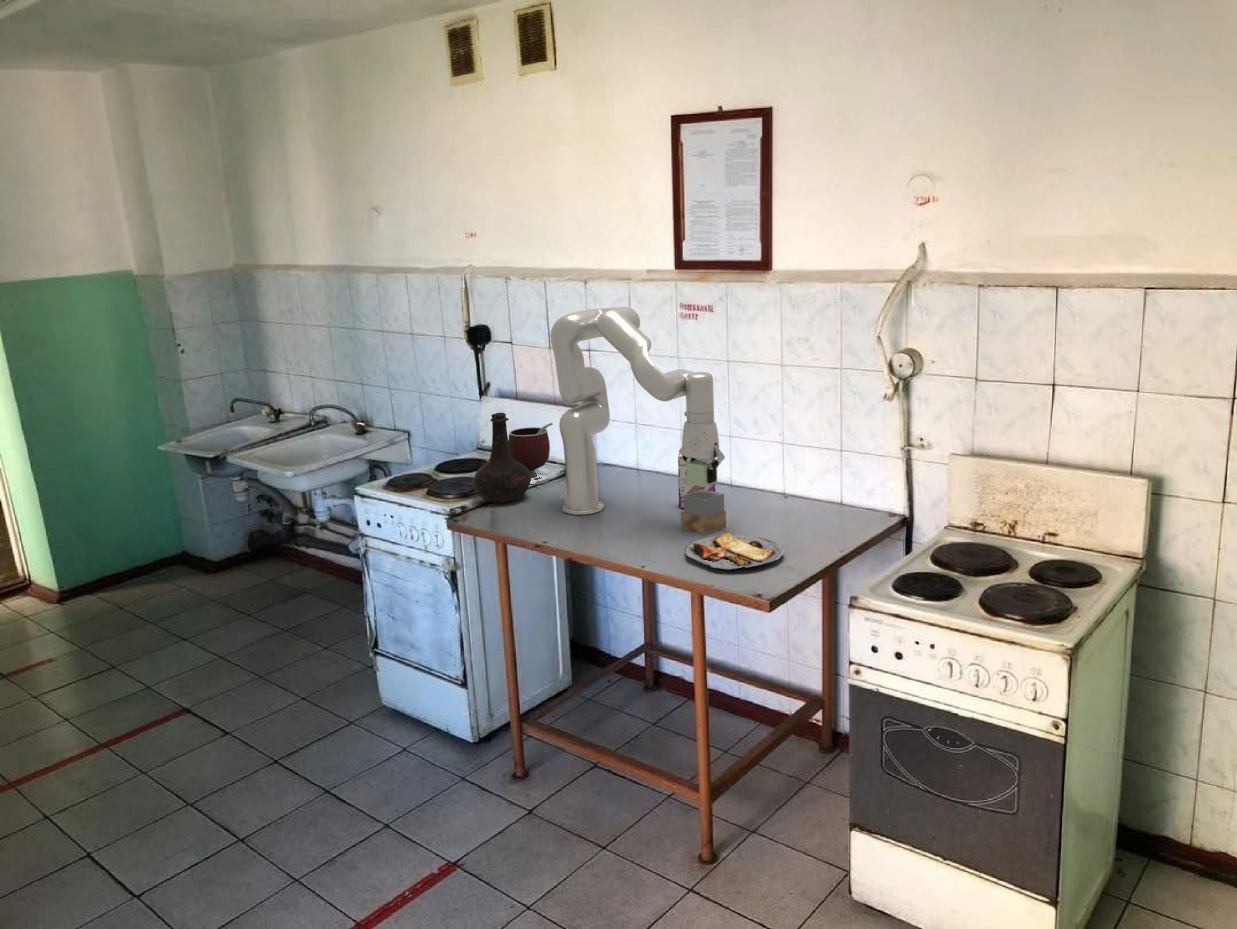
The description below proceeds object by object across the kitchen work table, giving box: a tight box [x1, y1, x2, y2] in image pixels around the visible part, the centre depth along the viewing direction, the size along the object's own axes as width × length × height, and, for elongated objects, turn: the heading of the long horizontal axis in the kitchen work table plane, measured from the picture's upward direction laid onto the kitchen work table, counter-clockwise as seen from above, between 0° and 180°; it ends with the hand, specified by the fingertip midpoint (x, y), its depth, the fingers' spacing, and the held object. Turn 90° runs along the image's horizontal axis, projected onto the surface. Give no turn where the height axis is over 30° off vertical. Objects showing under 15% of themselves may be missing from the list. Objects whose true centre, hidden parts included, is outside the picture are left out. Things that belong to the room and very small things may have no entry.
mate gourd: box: [508, 422, 554, 485], centre depth 338 cm, size 16×14×20 cm
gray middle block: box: [683, 489, 725, 518], centre depth 281 cm, size 8×8×5 cm
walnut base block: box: [680, 509, 727, 536], centre depth 282 cm, size 9×9×5 cm
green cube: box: [686, 459, 718, 487], centre depth 279 cm, size 6×6×6 cm
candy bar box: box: [677, 453, 717, 509], centre depth 301 cm, size 11×5×16 cm, turn 84°
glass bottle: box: [473, 412, 531, 504], centre depth 317 cm, size 18×18×28 cm
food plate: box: [684, 531, 784, 570], centre depth 259 cm, size 25×23×4 cm
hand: (702, 479), depth 279 cm, fingers closed on green cube, 6 cm apart
